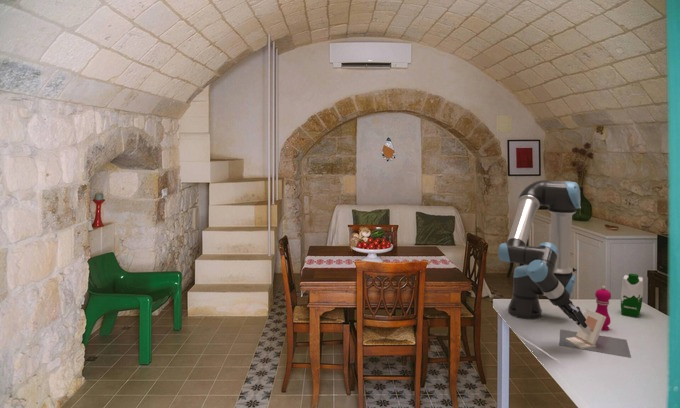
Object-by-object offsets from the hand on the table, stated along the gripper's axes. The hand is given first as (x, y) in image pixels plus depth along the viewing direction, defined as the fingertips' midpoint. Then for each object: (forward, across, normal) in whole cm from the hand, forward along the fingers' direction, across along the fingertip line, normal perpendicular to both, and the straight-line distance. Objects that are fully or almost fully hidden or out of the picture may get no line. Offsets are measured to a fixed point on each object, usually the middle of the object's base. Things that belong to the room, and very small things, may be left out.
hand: (587, 330), depth 195 cm
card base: (+2, -1, -5) cm, 6 cm away
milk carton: (+38, -27, +30) cm, 55 cm away
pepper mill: (+18, -13, +9) cm, 24 cm away
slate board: (+7, 0, -2) cm, 7 cm away
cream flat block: (+4, -1, -3) cm, 5 cm away
